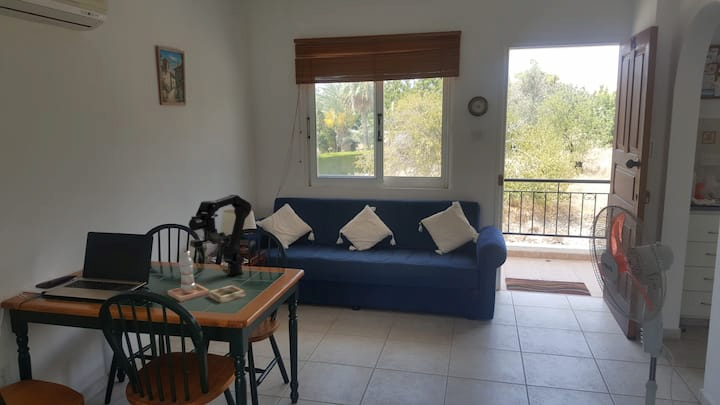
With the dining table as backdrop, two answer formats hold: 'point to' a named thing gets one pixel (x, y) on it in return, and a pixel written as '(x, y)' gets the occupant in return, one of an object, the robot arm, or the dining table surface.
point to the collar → (218, 297)
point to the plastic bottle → (187, 273)
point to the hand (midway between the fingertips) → (211, 257)
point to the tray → (183, 297)
